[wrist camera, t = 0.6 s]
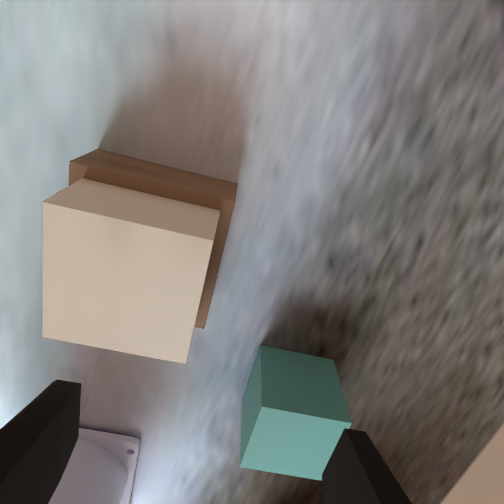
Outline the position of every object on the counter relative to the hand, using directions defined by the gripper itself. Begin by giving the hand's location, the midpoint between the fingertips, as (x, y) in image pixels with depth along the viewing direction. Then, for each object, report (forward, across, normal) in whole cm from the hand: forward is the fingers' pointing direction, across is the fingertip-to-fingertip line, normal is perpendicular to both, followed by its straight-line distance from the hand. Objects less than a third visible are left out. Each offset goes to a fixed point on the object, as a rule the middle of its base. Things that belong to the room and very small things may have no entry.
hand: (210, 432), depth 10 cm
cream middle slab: (+7, +4, -1) cm, 8 cm away
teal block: (+10, -5, +7) cm, 13 cm away
